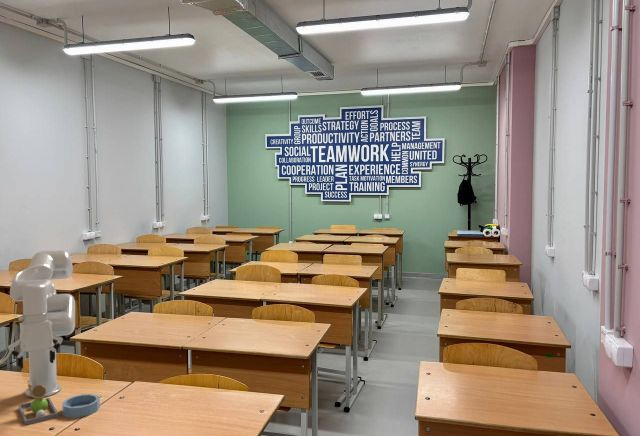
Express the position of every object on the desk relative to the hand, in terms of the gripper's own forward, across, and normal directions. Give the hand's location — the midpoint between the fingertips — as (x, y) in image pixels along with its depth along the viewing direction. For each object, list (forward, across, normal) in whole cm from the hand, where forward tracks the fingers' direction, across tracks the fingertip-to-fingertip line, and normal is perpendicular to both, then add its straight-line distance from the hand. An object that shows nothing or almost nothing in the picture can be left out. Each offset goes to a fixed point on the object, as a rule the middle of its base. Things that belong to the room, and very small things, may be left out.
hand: (36, 364), depth 182 cm
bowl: (+18, +13, -7) cm, 23 cm away
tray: (+18, 0, 0) cm, 18 cm away
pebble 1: (+18, 0, +6) cm, 19 cm away
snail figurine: (+18, 0, 0) cm, 18 cm away
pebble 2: (+18, 0, -5) cm, 19 cm away
